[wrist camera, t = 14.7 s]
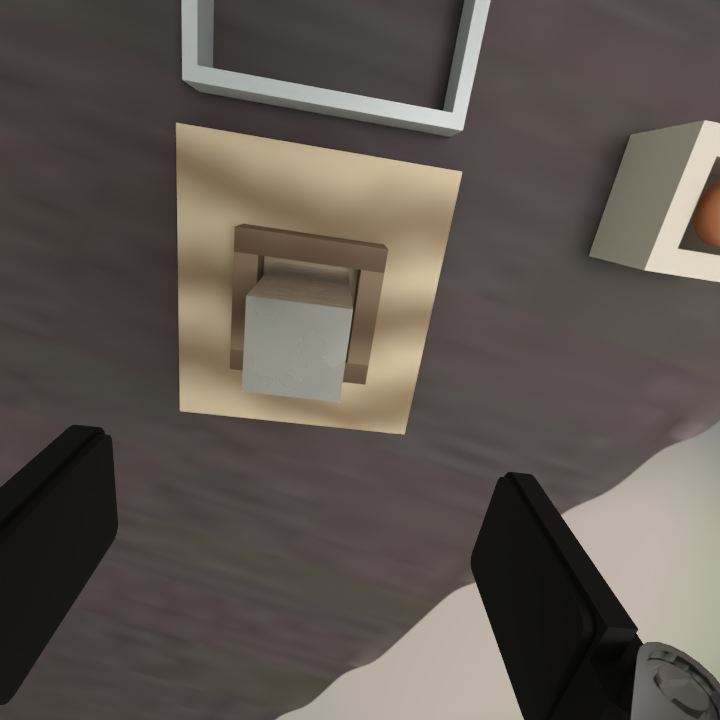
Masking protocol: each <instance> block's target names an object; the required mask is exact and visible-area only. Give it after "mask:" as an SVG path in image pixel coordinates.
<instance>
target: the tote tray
mask: <svg viewBox="0 0 720 720" xmlns="http://www.w3.org/2000/svg"><path fill="white" fill-rule="evenodd" d="M490 1H491V0H464V5H463V10H462V15H461V20H460V25H459V30H458V36H457V41H456V46H455V51H454V56H453V61H452V66H451V71H450V77H449V82H448V87H447V92H446V97H445V102H444V107H443V111H441V110H435V109H430V108H425V107H419V106H414V105H408V104H403V103H398V102H392V101H387V100H382V99H376V98H371V97H365V96H360V95H355V94H349V93H344V92H339V91H333V90H328V89H322V88H317V87H312V86H306V85H301V84H296V83H290V82H285V81H279V80H274V79H269V78H263V77H258V76H253V75H247V74H242V73H236V72H231V71H226V70H220V69H215V68H213V32H214V0H182V80H183V81H185V82H186V83H188V84H189V85H190V86H192V87H193V88H195V89H196V90H197V91H199V92H203V93H209V94H214V95H220V96H225V97H231V98H236V99H242V100H247V101H253V102H259V103H264V104H270V105H275V106H281V107H286V108H292V109H297V110H303V111H309V112H314V113H320V114H325V115H331V116H336V117H342V118H348V119H353V120H359V121H364V122H370V123H375V124H381V125H386V126H392V127H398V128H403V129H409V130H414V131H420V132H425V133H431V134H436V135H442V136H448V137H451V136H453V135H455V134H457V133H459V132H461V131H463V127H464V122H465V118H466V113H467V108H468V104H469V99H470V94H471V90H472V85H473V80H474V76H475V71H476V66H477V62H478V57H479V52H480V47H481V43H482V38H483V33H484V29H485V24H486V19H487V15H488V10H489V5H490Z"/></svg>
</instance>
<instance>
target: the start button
mask: <svg viewBox="0 0 720 720" xmlns="http://www.w3.org/2000/svg"><path fill="white" fill-rule="evenodd" d="M694 228H695V232H696V234H697V236H698V237H699V238H700V239H701V240H702V241H703V242H705V243H707V244H709V245H714V246H720V180H718V181H717V182H715V183H714V184H713V185H712V186H711V187H710V188H709V189H708V190H707V191H706V192H705V193H704V195H703V196H702V198H701V199H700V201H699V203H698V205H697V208H696V210H695V214H694Z"/></svg>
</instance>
